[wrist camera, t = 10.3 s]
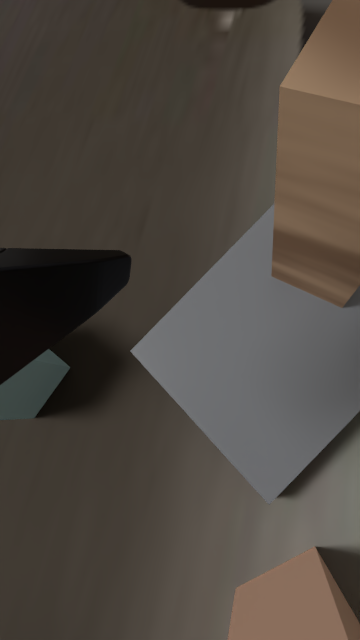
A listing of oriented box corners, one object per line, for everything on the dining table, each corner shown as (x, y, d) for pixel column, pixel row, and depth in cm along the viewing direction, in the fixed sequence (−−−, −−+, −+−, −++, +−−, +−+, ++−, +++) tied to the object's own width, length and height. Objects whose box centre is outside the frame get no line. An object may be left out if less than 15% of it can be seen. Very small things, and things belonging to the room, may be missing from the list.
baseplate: (268, 497, 19) (269, 504, 17) (138, 354, 23) (130, 351, 22) (460, 299, 19) (476, 291, 18) (296, 193, 23) (298, 179, 22)
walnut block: (342, 308, 19) (478, 132, 7) (271, 276, 21) (279, 86, 8) (377, 243, 19) (565, -30, 7) (305, 217, 21) (360, -46, 9)
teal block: (34, 418, 24) (-37, 421, 18) (-2, 382, 25) (-78, 375, 20) (70, 367, 24) (11, 355, 19) (32, 335, 26) (-33, 314, 20)
